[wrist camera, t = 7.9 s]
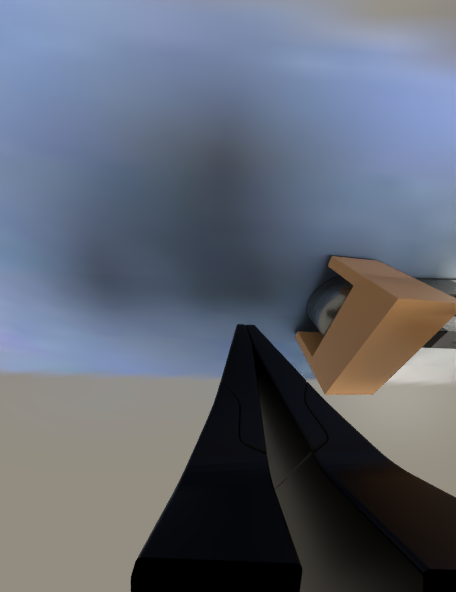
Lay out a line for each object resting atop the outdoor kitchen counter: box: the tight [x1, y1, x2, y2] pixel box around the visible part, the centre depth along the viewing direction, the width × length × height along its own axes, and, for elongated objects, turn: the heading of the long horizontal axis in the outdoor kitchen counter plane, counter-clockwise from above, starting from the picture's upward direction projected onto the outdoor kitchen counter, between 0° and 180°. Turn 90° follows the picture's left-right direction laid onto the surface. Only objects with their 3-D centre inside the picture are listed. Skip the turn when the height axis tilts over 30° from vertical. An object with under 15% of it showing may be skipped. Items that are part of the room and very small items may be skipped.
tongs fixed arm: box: [307, 276, 456, 349], centre depth 12 cm, size 20×4×2 cm, turn 83°
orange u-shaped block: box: [295, 256, 456, 395], centre depth 10 cm, size 3×6×4 cm, turn 173°
